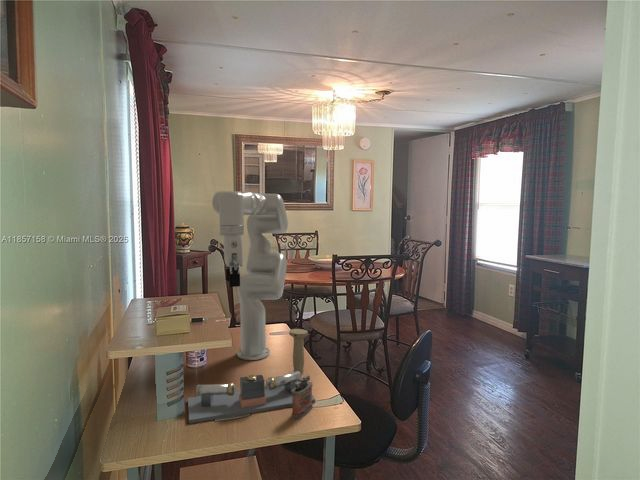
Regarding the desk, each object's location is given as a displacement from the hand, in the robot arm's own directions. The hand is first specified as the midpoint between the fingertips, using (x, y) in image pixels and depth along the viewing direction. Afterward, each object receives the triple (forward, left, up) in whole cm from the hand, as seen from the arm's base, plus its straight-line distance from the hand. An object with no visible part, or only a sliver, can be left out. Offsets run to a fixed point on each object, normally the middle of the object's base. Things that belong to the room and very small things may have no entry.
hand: (232, 283), depth 133 cm
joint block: (+17, +3, -30) cm, 35 cm away
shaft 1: (+14, -7, -33) cm, 37 cm away
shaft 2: (+14, +13, -33) cm, 39 cm away
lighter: (+26, +16, -34) cm, 45 cm away
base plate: (+15, +3, -33) cm, 37 cm away
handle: (0, +22, -34) cm, 40 cm away
